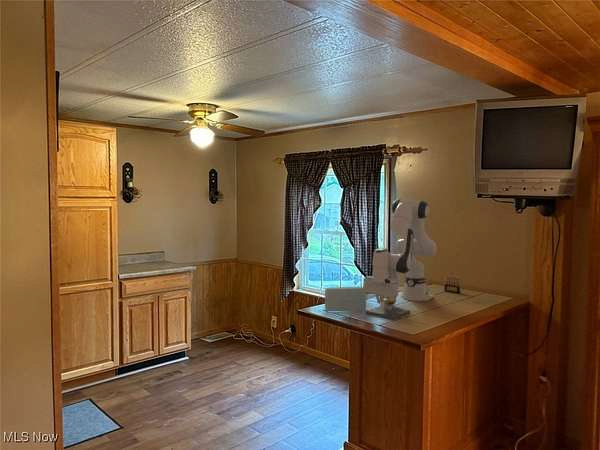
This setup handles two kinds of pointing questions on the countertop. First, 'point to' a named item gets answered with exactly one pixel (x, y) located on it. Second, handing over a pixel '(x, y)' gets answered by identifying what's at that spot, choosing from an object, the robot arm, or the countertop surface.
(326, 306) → the bar with end hole
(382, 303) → the gold knob with bar
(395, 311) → the plate
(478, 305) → the countertop surface
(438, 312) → the countertop surface
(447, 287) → the ammunition clip
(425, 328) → the countertop surface
